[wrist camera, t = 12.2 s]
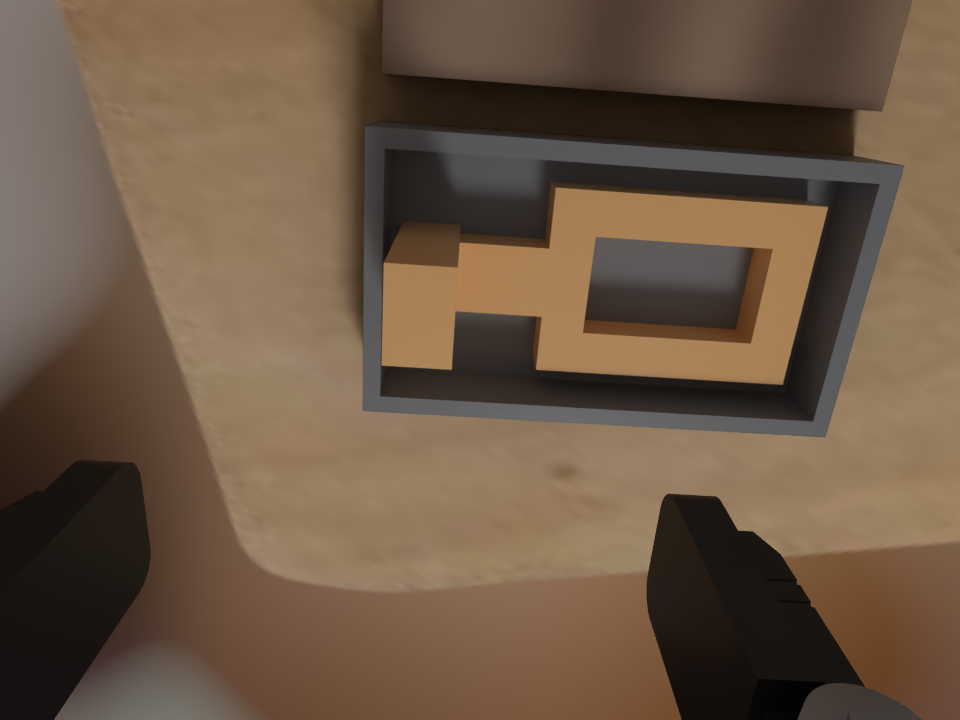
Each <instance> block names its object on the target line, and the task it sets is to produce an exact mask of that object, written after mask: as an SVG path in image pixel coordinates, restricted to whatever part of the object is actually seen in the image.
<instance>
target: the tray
mask: <svg viewBox="0 0 960 720" xmlns="http://www.w3.org/2000/svg"><path fill="white" fill-rule="evenodd" d="M903 169H904V165H899V164H893V163H888V162H883V161H878V160H873V159H868V158H863V157H858V156H849V155H836V154H822V153H808V152H795V151H781V150H768V149H754V148H740V147H727V146H713V145H699V144H686V143H672V142H659V141H645V140H631V139H618V138H604V137H590V136H577V135H563V134H550V133H536V132H522V131H509V130H495V129H481V128H468V127H454V126H441V125H427V124H413V123H400V122H386V121H376V122H373V123H371V124H369V125H367V126H365V167H364V297H363V411H373V412H390V413H408V414H425V415H443V416H460V417H478V418H495V419H513V420H530V421H548V422H565V423H583V424H600V425H618V426H635V427H653V428H670V429H688V430H705V431H723V432H740V433H758V434H775V435H793V436H810V437H826V434H827V430H828V427H829V423H830V420H831V416H832V413H833V410H834V406H835V403H836V399H837V396H838V392H839V389H840V385H841V382H842V379H843V375H844V372H845V368H846V365H847V361H848V358H849V354H850V351H851V348H852V344H853V341H854V337H855V334H856V330H857V327H858V324H859V320H860V317H861V313H862V310H863V306H864V303H865V299H866V296H867V293H868V289H869V286H870V282H871V279H872V275H873V272H874V269H875V265H876V262H877V258H878V255H879V251H880V248H881V244H882V241H883V238H884V234H885V231H886V227H887V224H888V220H889V217H890V213H891V210H892V207H893V203H894V200H895V196H896V193H897V189H898V186H899V183H900V179H901V176H902V172H903ZM551 181H552V182H566V183H580V184H594V185H608V186H622V187H636V188H650V189H664V190H678V191H692V192H705V193H719V194H733V195H747V196H761V197H775V198H789V199H803V200H810V201H812V202H815V203H818V204H821V205H824V206H827V207H828V210H827V214H826V218H825V222H824V226H823V230H822V233H821V237H820V241H819V245H818V249H817V253H816V257H815V261H814V265H813V268H812V272H811V276H810V280H809V284H808V288H807V292H806V296H805V300H804V303H803V307H802V311H801V315H800V319H799V323H798V327H797V331H796V334H795V338H794V342H793V346H792V350H791V354H790V358H789V362H788V366H787V369H786V373H785V377H784V381H783V385H777V384H760V383H744V382H728V381H711V380H695V379H678V378H662V377H646V376H629V375H613V374H596V373H580V372H564V371H547V370H536V368H535V363H534V359H533V355H532V354H533V345H534V335H535V326H536V317H537V316H521V315H506V314H490V313H475V312H459V311H455V326H454V342H453V358H452V370H447V369H430V368H414V367H397V366H382V326H383V275H384V261H385V259H386V257H387V255H388V253H389V251H390V249H391V246H392V244H393V242H394V240H395V238H396V236H397V234H398V232H399V230H400V228H401V225H402V223H403V221H412V222H427V223H441V224H456V225H461V229H460V233H463V234H477V235H492V236H507V237H521V238H536V239H545V233H546V223H547V214H548V205H549V195H550V186H551ZM753 250H754V248H751V247H736V246H721V245H707V244H692V243H678V242H663V241H649V240H634V239H620V238H605V237H596V239H595V247H594V254H593V261H592V269H591V276H590V284H589V291H588V298H587V306H586V313H585V320H595V321H610V322H626V323H642V324H657V325H673V326H688V327H704V328H720V329H735V330H736V326H737V322H738V317H739V313H740V308H741V304H742V299H743V295H744V290H745V286H746V281H747V277H748V272H749V268H750V264H751V259H752V255H753Z"/></svg>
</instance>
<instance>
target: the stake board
mask: <svg viewBox="0 0 960 720" xmlns="http://www.w3.org/2000/svg"><path fill="white" fill-rule="evenodd" d="M911 3H912V0H383V21H382V73H383V74H395V75H408V76H422V77H435V78H448V79H461V80H474V81H487V82H500V83H514V84H527V85H540V86H553V87H566V88H579V89H593V90H606V91H619V92H632V93H645V94H658V95H671V96H685V97H698V98H711V99H724V100H737V101H750V102H764V103H777V104H790V105H803V106H816V107H829V108H842V109H856V110H869V111H882V110H883V106H884V102H885V99H886V95H887V91H888V88H889V84H890V80H891V77H892V73H893V69H894V66H895V62H896V58H897V55H898V51H899V47H900V43H901V40H902V36H903V32H904V29H905V25H906V21H907V18H908V14H909V10H910V7H911Z"/></svg>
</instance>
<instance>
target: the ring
mask: <svg viewBox="0 0 960 720" xmlns="http://www.w3.org/2000/svg"><path fill="white" fill-rule="evenodd" d="M827 210H828V207H827V206H824V205H821V204H818V203H815V202H812V201H810V200H803V199H789V198H775V197H761V196H747V195H733V194H719V193H705V192H692V191H678V190H664V189H650V188H636V187H622V186H608V185H594V184H580V183H566V182H552V181H551V186H550V195H549V205H548V214H547V223H546V233H545V239H536V238H521V237H507V236H492V235H477V234H463V233H460V229H461V225H456V224H441V223H427V222H412V221H403V223H402V225H401V228H400V230H399V232H398V234H397V236H396V238H395V240H394V242H393V244H392V246H391V249H390V251H389V253H388V255H387V257H386V259H385V261H384V275H383V326H382V366H397V367H414V368H430V369H447V370H452V358H453V342H454V326H455V311H459V312H475V313H490V314H506V315H521V316H537V317H536V326H535V335H534V345H533V354H532V355H533V359H534V363H535V368H536V370H547V371H564V372H580V373H596V374H613V375H629V376H646V377H662V378H678V379H695V380H711V381H728V382H744V383H760V384H777V385H783V381H784V377H785V373H786V369H787V366H788V362H789V358H790V354H791V350H792V346H793V342H794V338H795V334H796V331H797V327H798V323H799V319H800V315H801V311H802V307H803V303H804V300H805V296H806V292H807V288H808V284H809V280H810V276H811V272H812V268H813V265H814V261H815V257H816V253H817V249H818V245H819V241H820V237H821V233H822V230H823V226H824V222H825V218H826V214H827ZM596 237H605V238H620V239H634V240H649V241H663V242H678V243H692V244H707V245H721V246H736V247H751V248H754V250H753V255H752V259H751V264H750V268H749V272H748V277H747V281H746V286H745V290H744V295H743V299H742V304H741V308H740V313H739V317H738V322H737V326H736V330H735V329H720V328H704V327H688V326H673V325H657V324H642V323H626V322H610V321H595V320H585V313H586V306H587V298H588V291H589V284H590V276H591V269H592V261H593V254H594V247H595V239H596Z"/></svg>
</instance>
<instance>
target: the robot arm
mask: <svg viewBox="0 0 960 720" xmlns="http://www.w3.org/2000/svg"><path fill="white" fill-rule="evenodd" d="M150 551H151V550H150V541H149V533H148V527H147V519H146V512H145V504H144V497H143V489H142V482H141V476H140V472H139V470H138V468H137V466H136V465H135V464H134V463H131V462H114V461H96V460H78V461H76V462H74V463H73V464H72V465H71V466H70V467H69V468H67V469H66V470H65V471H64V472H63V473H62V474H61V475H60V476H59V477H58V478H57V479H56V480H55V481H54V482H52V483H51V484H50V485H49V486H48V487H47V488H46V489H45V490H44V491H35V492H33V493H31V494H30V495H28V496H26V497H24V498H22V499H20V500H18V501H16V502H14V503H12V504H10V505H8V506H7V507H5V508H3V509H1V510H0V720H54V719H55V717H56V716H57V714H58V713H59V711H60V710H61V708H62V707H63V705H64V704H65V702H66V701H67V699H68V698H69V696H70V695H71V693H72V692H73V690H74V689H75V687H76V686H77V684H78V683H79V682H80V680H81V678H82V677H83V675H84V674H85V672H86V671H87V670H88V668H89V667H90V665H91V664H92V662H93V661H94V659H95V658H96V656H97V654H98V653H99V652H100V650H101V649H102V647H103V646H104V644H105V643H106V641H107V640H108V638H109V637H110V635H111V634H112V632H113V631H114V629H115V628H116V626H117V625H118V623H119V622H120V620H121V619H122V617H123V616H124V614H125V613H126V612H127V610H128V609H129V607H130V606H131V604H132V603H133V601H134V600H135V598H136V597H137V595H138V594H139V592H140V590H141V589H142V587H143V585H144V582H145V580H146V577H147V573H148V569H149V564H150ZM810 603H811V602H810V600H809V598H808V597H807V595H806V594H805V592H804V591H803V589H802V587H801V586H800V585H797V579H796V578H795V576H794V575H793V573H792V572H791V570H790V568H789V567H788V565H787V564H786V562H785V561H784V559H783V557H782V556H781V554H780V553H778V552H777V551H776V550H775V549H773V548H772V547H771V546H770V545H769V544H767V543H766V542H765V541H764V540H762V539H761V538H760V537H759V536H758V535H756V534H755V533H754V532H751V531H738V530H737V528H736V526H735V525H734V523H733V521H732V519H731V518H730V516H729V514H728V513H727V511H726V509H725V507H724V506H723V504H722V502H721V501H720V499H719V498H718V497H715V496H698V495H680V494H667V495H666V496H665V497H664V499H663V501H662V504H661V508H660V513H659V519H658V524H657V529H656V534H655V540H654V545H653V550H652V555H651V561H650V566H649V571H648V577H647V606H648V613H649V617H650V621H651V624H652V627H653V630H654V633H655V637H656V640H657V643H658V646H659V649H660V653H661V655H662V659H663V662H664V665H665V668H666V672H667V675H668V678H669V681H670V684H671V687H672V690H673V694H674V697H675V700H676V703H677V706H678V709H679V713H680V716H681V719H682V720H922V719H921V718H920V717H919V716H917V715H916V714H914V712H912V711H911V710H909V709H908V708H907V707H905V706H904V705H902V704H901V703H899V702H898V701H896V700H894V699H892V698H890V697H888V696H886V695H884V694H882V693H880V692H877V691H875V690H872V689H869V688H866V687H865V686H864V684H863V683H862V681H861V680H860V678H859V677H858V675H857V673H856V672H855V670H854V669H853V667H852V666H851V664H850V663H849V661H848V659H847V658H846V656H845V655H844V653H843V652H842V650H841V648H840V647H839V645H838V644H837V642H836V641H835V639H834V638H833V636H832V634H831V633H830V631H829V630H828V628H827V627H826V625H825V623H824V622H823V620H822V619H821V617H820V616H819V614H818V612H817V611H816V609H815V608H814V607H811V604H810Z"/></svg>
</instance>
